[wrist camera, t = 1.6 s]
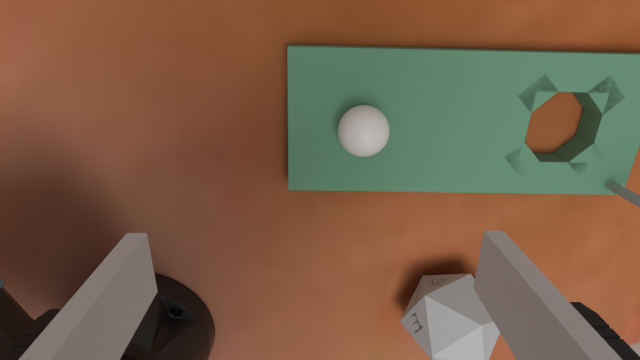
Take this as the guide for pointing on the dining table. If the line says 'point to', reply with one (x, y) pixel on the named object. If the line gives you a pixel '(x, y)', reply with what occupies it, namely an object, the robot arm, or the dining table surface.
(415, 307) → the die
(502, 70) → the mini golf green
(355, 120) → the ball
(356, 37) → the dining table surface
